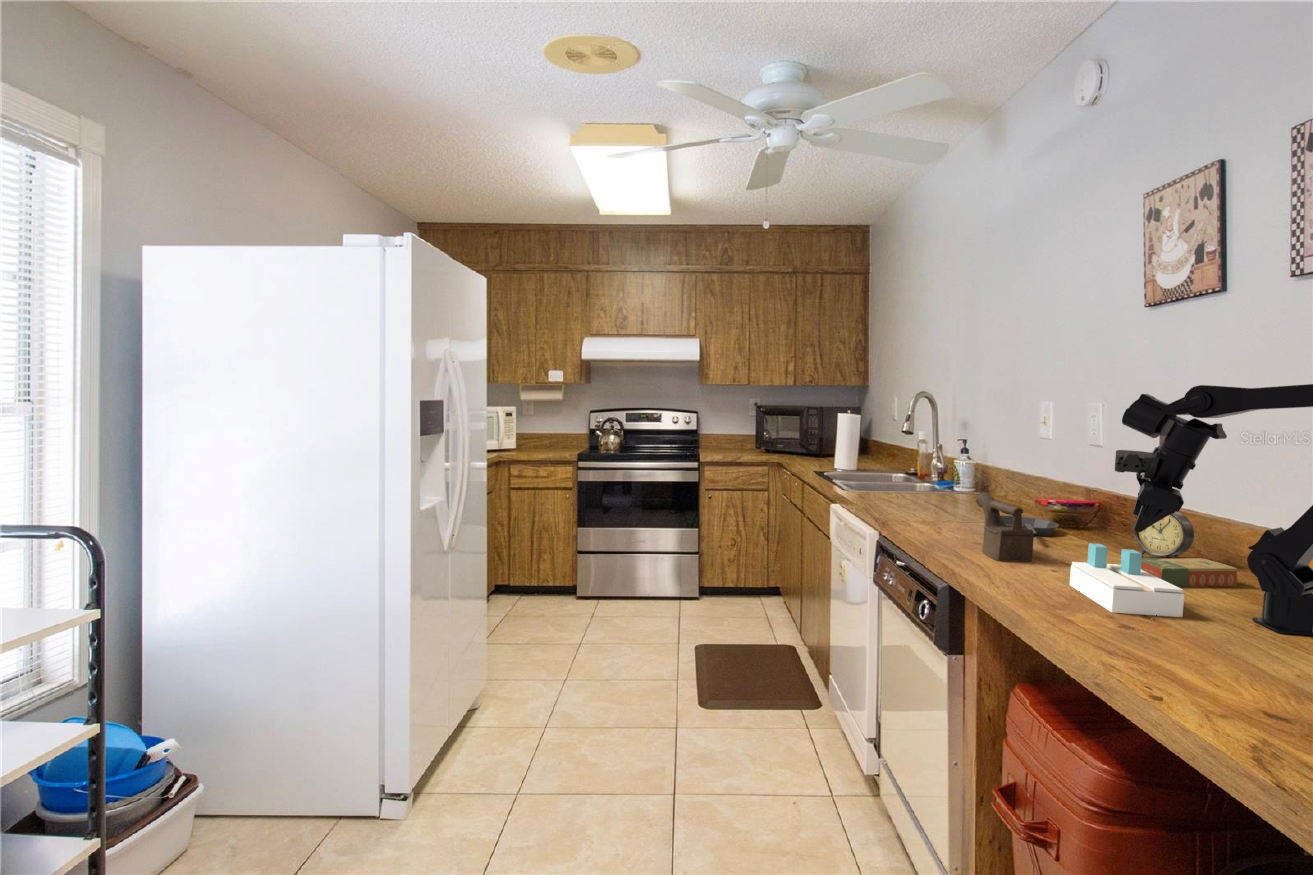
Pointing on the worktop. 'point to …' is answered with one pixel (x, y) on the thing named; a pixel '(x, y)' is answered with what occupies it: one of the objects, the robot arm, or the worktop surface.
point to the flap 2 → (1141, 572)
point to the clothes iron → (1004, 531)
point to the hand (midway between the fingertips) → (1136, 522)
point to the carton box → (1127, 596)
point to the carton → (1191, 571)
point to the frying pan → (1033, 525)
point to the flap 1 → (1103, 569)
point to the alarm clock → (1166, 536)
